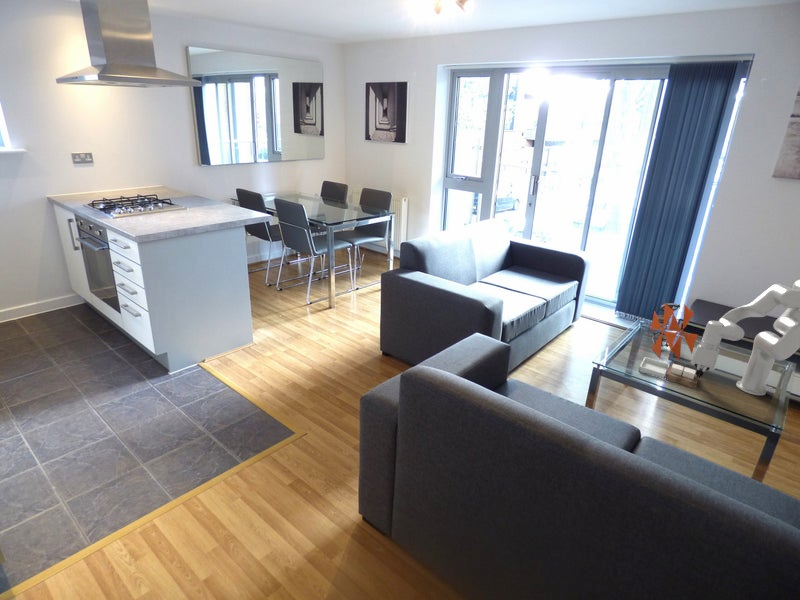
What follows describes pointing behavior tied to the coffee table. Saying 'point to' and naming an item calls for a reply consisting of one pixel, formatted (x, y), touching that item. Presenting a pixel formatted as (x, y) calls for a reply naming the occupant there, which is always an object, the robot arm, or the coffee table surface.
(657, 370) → the tray
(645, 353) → the coffee table surface
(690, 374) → the cream rectangular block
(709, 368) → the robot arm
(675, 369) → the tile far
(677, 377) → the brown wooden box
